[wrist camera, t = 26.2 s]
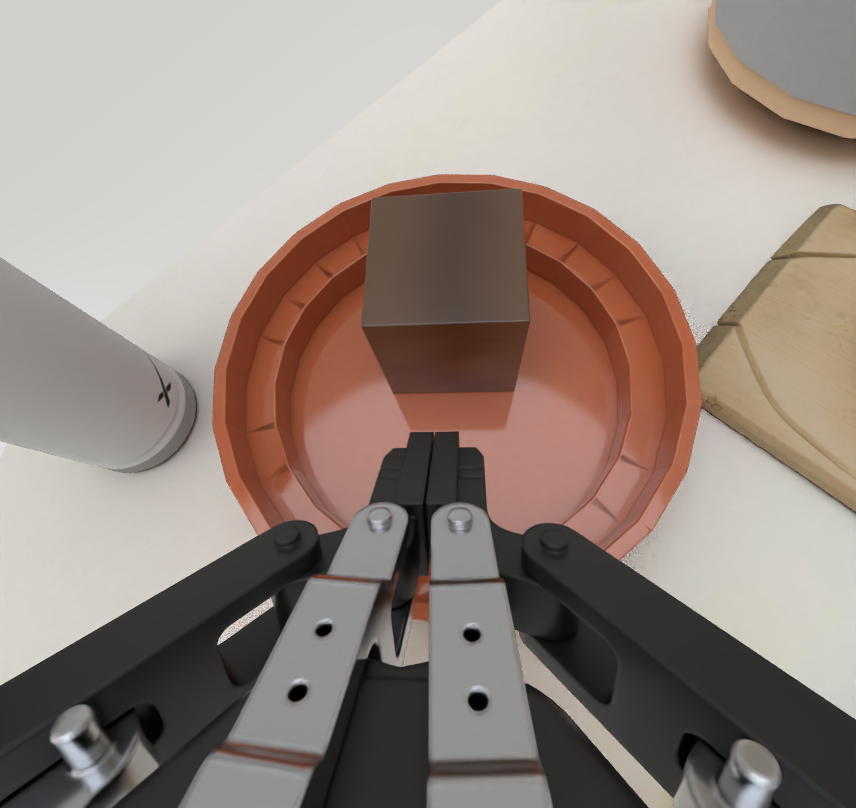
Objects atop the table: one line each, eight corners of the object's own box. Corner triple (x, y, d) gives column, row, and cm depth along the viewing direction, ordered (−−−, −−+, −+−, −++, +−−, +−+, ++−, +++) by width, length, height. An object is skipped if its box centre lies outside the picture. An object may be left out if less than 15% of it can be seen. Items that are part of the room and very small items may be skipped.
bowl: (194, 373, 26) (139, 336, 21) (473, 179, 29) (472, 113, 24) (411, 720, 19) (393, 765, 14) (751, 417, 22) (818, 381, 17)
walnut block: (392, 393, 23) (360, 327, 17) (397, 291, 25) (371, 196, 19) (514, 391, 23) (530, 321, 16) (509, 286, 25) (521, 187, 18)
